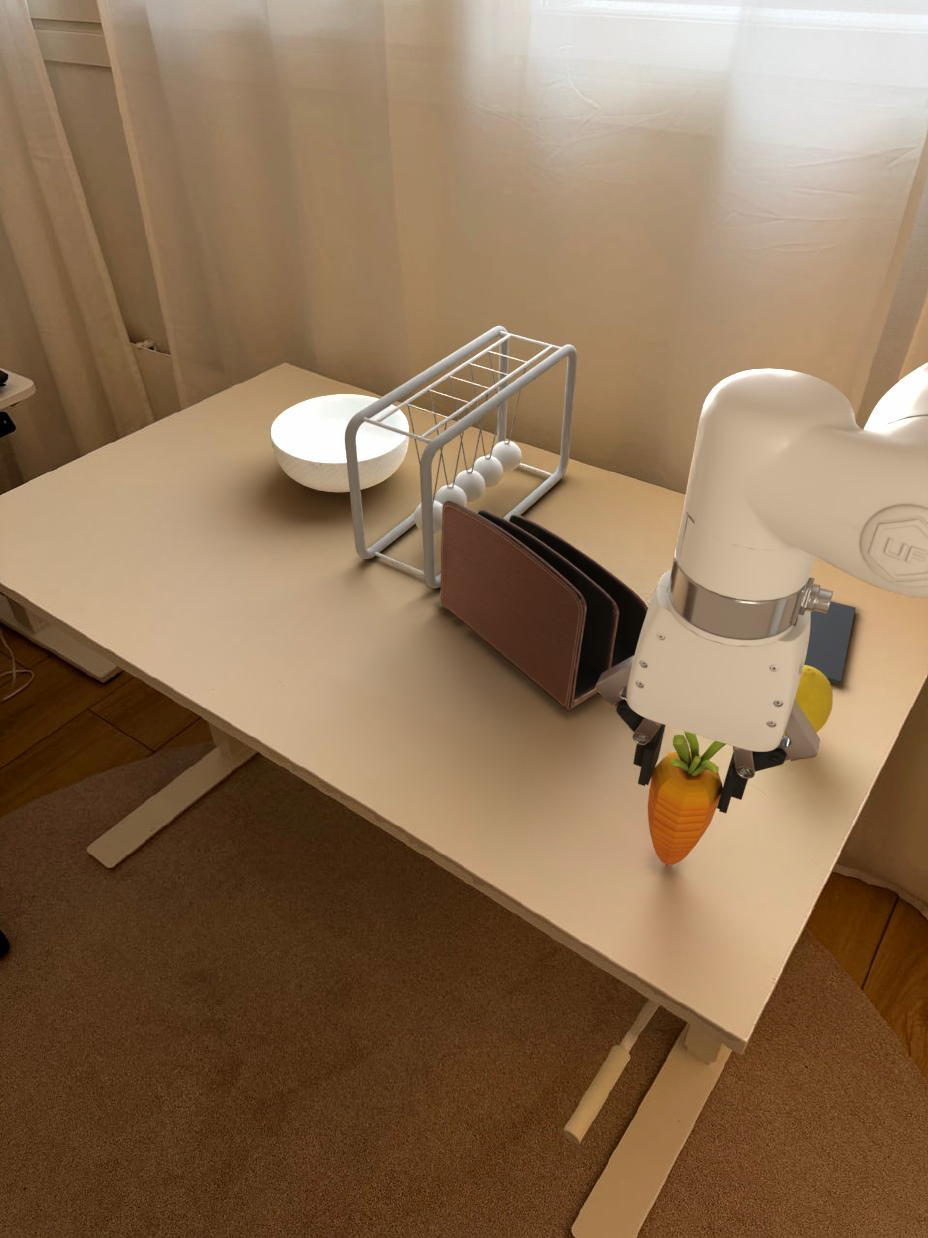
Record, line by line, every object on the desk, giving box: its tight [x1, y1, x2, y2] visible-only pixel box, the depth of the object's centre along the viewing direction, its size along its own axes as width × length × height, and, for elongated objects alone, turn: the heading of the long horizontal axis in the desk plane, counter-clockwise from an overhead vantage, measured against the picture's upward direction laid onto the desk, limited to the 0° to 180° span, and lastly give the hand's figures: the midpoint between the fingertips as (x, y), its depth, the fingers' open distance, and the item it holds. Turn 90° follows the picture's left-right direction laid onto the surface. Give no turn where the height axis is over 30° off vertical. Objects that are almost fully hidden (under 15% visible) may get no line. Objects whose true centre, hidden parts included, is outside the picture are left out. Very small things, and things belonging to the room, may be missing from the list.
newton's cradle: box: [345, 325, 578, 589], centre depth 101 cm, size 30×10×18 cm, turn 146°
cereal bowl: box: [270, 393, 410, 493], centre depth 111 cm, size 17×17×7 cm
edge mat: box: [804, 600, 856, 686], centre depth 91 cm, size 14×12×1 cm
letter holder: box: [439, 501, 649, 712], centre depth 86 cm, size 10×20×14 cm, turn 38°
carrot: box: [647, 731, 727, 866], centre depth 65 cm, size 5×5×15 cm
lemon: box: [783, 665, 834, 737], centre depth 78 cm, size 6×6×8 cm
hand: (686, 782), depth 64 cm, fingers closed on carrot, 5 cm apart
